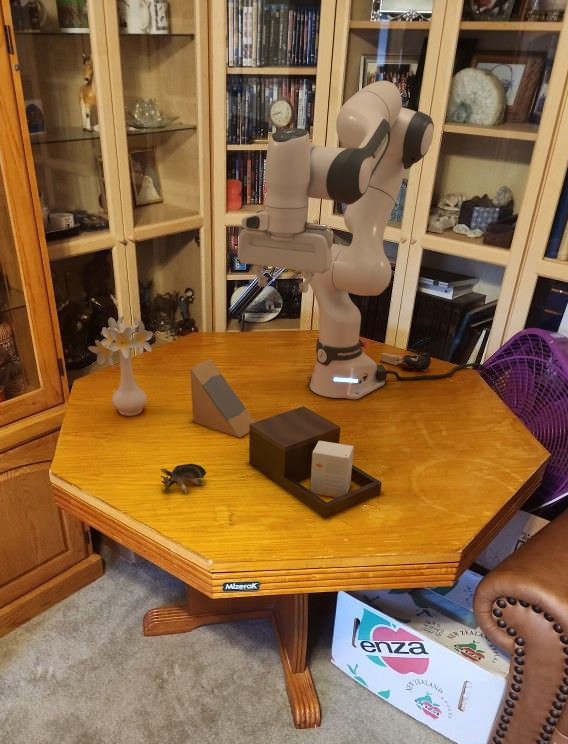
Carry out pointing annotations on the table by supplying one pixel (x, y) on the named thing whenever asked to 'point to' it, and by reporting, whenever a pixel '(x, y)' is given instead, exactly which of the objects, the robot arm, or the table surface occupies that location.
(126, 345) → the flower vase
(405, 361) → the toy figure
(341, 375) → the robot arm
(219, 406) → the sandwich container
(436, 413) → the table surface
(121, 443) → the table surface
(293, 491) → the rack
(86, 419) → the table surface
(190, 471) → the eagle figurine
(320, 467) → the small box
